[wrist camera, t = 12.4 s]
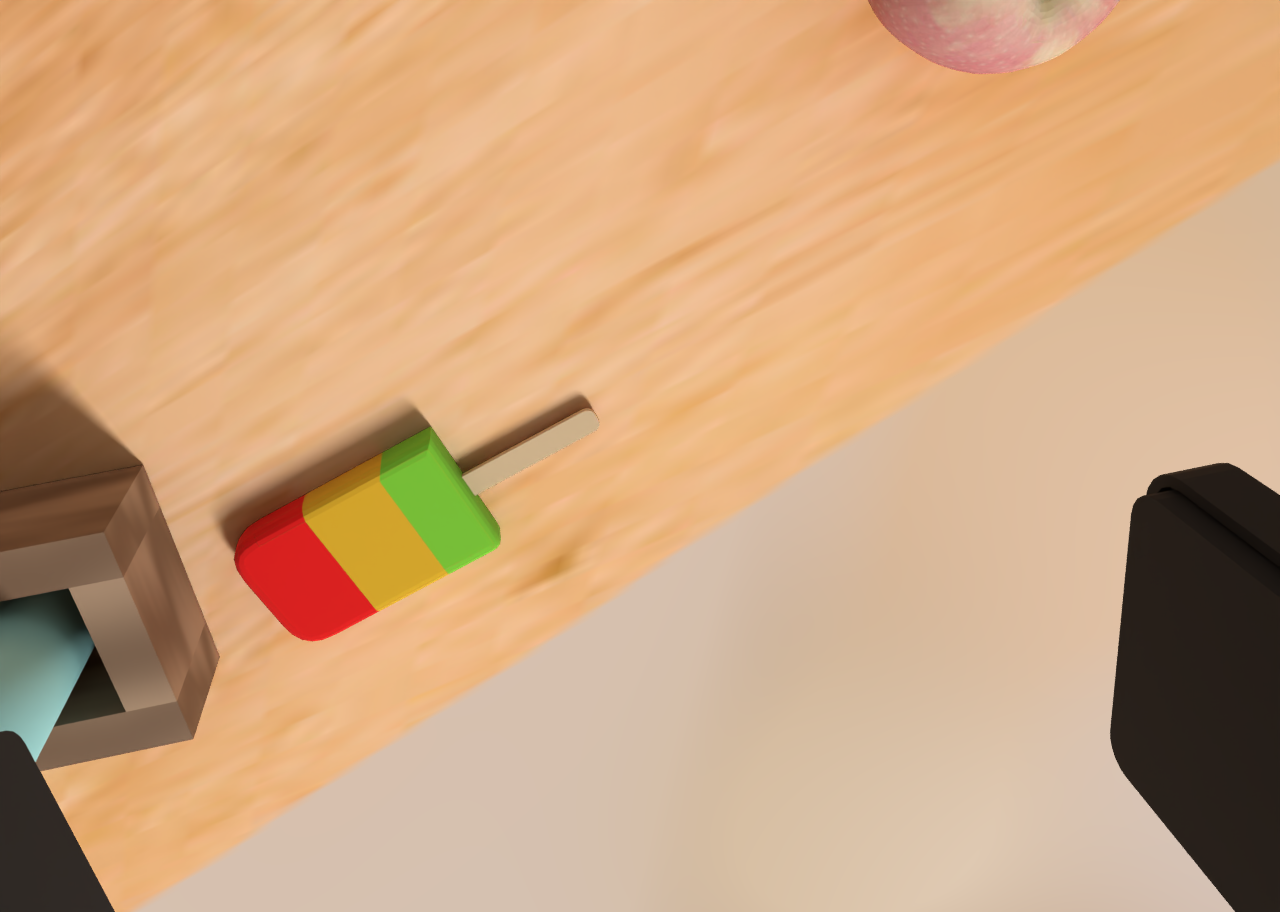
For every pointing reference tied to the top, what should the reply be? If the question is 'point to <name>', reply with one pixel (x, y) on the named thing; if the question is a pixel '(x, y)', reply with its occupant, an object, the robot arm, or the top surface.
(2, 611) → the dowel
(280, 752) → the top surface
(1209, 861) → the robot arm
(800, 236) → the top surface
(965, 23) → the apple
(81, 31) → the top surface
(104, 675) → the socket block
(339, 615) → the popsicle
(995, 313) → the top surface
